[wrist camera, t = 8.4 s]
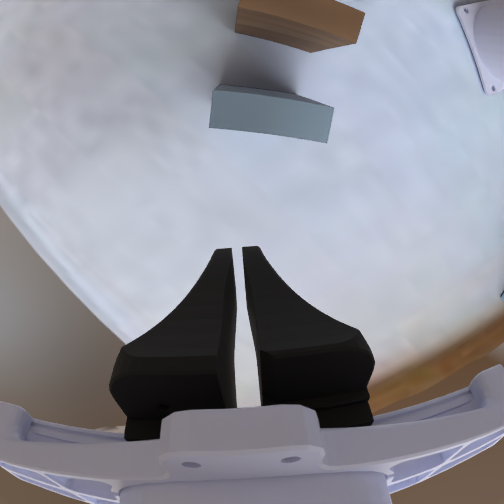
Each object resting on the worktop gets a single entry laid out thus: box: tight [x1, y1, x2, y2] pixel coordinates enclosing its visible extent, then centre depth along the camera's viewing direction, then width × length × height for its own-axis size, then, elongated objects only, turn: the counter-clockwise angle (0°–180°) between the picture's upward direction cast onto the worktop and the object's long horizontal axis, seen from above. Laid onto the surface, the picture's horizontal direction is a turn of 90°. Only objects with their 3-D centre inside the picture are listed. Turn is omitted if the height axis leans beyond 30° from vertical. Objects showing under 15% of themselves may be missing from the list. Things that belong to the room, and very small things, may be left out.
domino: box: [235, 0, 365, 53], centre depth 13 cm, size 2×5×8 cm, turn 75°
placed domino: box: [209, 85, 334, 143], centre depth 15 cm, size 2×5×8 cm, turn 83°
